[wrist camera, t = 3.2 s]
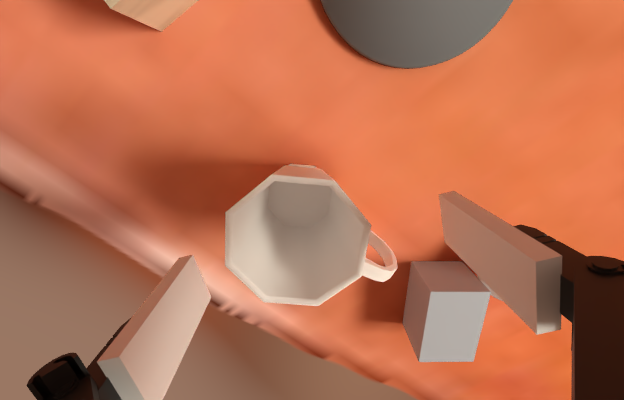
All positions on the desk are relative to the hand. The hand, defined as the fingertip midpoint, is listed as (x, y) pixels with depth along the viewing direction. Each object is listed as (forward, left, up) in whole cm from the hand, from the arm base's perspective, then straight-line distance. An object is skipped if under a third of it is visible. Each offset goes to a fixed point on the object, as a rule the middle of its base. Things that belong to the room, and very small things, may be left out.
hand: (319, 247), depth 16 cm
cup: (0, 0, -7) cm, 7 cm away
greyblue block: (+10, +7, -7) cm, 14 cm away
